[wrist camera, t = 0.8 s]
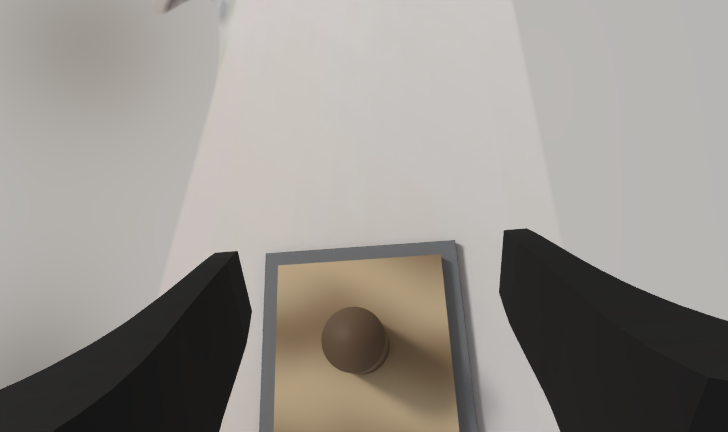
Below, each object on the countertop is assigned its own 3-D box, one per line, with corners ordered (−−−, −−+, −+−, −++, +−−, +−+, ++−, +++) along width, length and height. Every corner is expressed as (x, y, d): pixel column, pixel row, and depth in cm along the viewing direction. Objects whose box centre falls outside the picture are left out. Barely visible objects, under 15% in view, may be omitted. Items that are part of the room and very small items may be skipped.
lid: (459, 438, 24) (467, 448, 20) (276, 444, 25) (250, 454, 21) (440, 256, 28) (444, 235, 24) (280, 267, 28) (259, 249, 25)
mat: (479, 457, 24) (480, 458, 24) (260, 463, 25) (258, 464, 25) (454, 242, 28) (454, 240, 28) (267, 255, 29) (265, 253, 29)
